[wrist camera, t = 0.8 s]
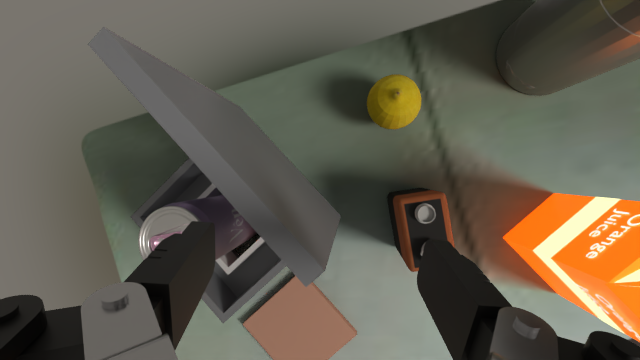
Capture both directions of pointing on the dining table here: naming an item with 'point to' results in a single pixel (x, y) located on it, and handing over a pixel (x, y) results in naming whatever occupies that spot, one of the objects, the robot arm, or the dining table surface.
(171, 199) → the equipment case
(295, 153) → the dining table surface
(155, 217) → the beverage can
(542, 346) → the robot arm
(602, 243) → the orange juice
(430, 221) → the battery
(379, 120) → the fruit
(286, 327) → the mat
